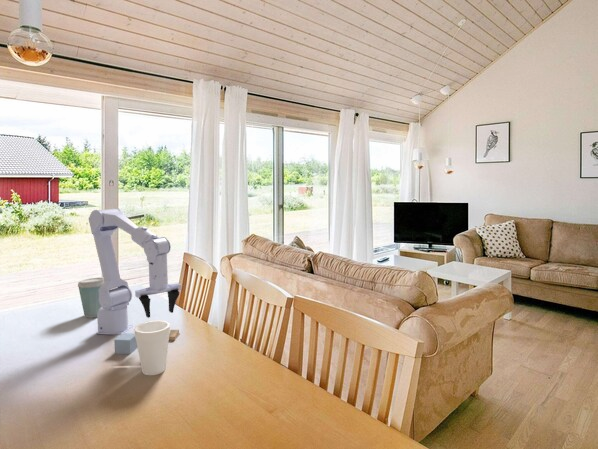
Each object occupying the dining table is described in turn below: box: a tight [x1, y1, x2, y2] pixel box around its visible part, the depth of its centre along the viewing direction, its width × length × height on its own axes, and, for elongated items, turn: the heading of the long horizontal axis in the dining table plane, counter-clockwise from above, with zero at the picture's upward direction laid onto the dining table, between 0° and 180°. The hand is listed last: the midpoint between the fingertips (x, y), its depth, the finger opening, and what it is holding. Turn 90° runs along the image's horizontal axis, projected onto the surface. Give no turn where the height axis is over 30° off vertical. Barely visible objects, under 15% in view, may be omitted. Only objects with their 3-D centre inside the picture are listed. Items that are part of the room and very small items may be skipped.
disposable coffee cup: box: [77, 276, 104, 319], centre depth 155 cm, size 11×11×15 cm
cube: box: [113, 332, 138, 355], centre depth 123 cm, size 5×5×5 cm
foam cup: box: [133, 320, 171, 376], centre depth 110 cm, size 10×9×13 cm
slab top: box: [169, 329, 180, 341], centre depth 133 cm, size 6×6×1 cm
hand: (159, 314), depth 129 cm, fingers open, 7 cm apart
